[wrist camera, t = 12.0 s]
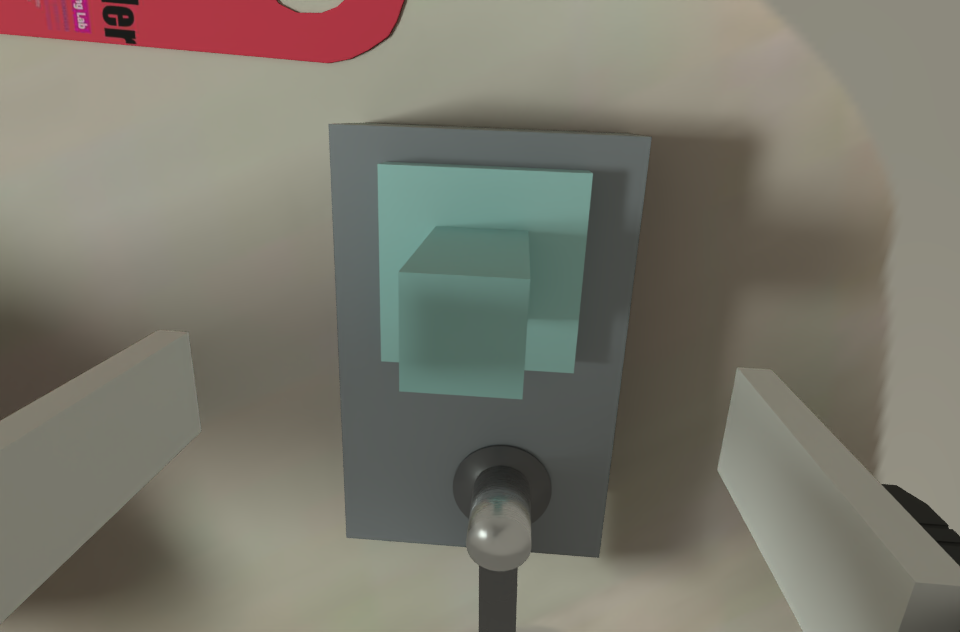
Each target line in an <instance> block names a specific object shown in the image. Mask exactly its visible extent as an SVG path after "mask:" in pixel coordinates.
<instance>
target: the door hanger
mask: <svg viewBox="0 0 960 632" xmlns="http://www.w3.org/2000/svg"><path fill="white" fill-rule="evenodd" d="M403 3H404V0H344V1H343V2H342V3H341V4H340V5H339V6H338V7H336V8H333V9H331V10H328V11H325V12H323V13H297V12H295V11H292V10H290V9H288V8H286V7H284V6H282V5H280V4H279V3H278V1H277V0H0V34H9V35H21V36H32V37H43V38H54V39H65V40H76V41H88V42H99V43H110V44H121V45H132V46H143V47H155V48H166V49H177V50H188V51H199V52H211V53H222V54H233V55H244V56H255V57H266V58H277V59H288V60H299V61H310V62H321V63H333V62H338V61H343V60H348V59H352V58H354V57H356V56H358V55H360V54H362V53H364V52H366V51H368V50H370V49H371V48H373V47H374V46H376V45H377V44H379V43H380V42H382V41H383V40H384V39H386V38H387V37H389V35H390V33H391V32H392V30H393V28H394V26H395V25H396V23H397V20H398V17H399V15H400V12H401V9H402V6H403Z"/></svg>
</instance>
